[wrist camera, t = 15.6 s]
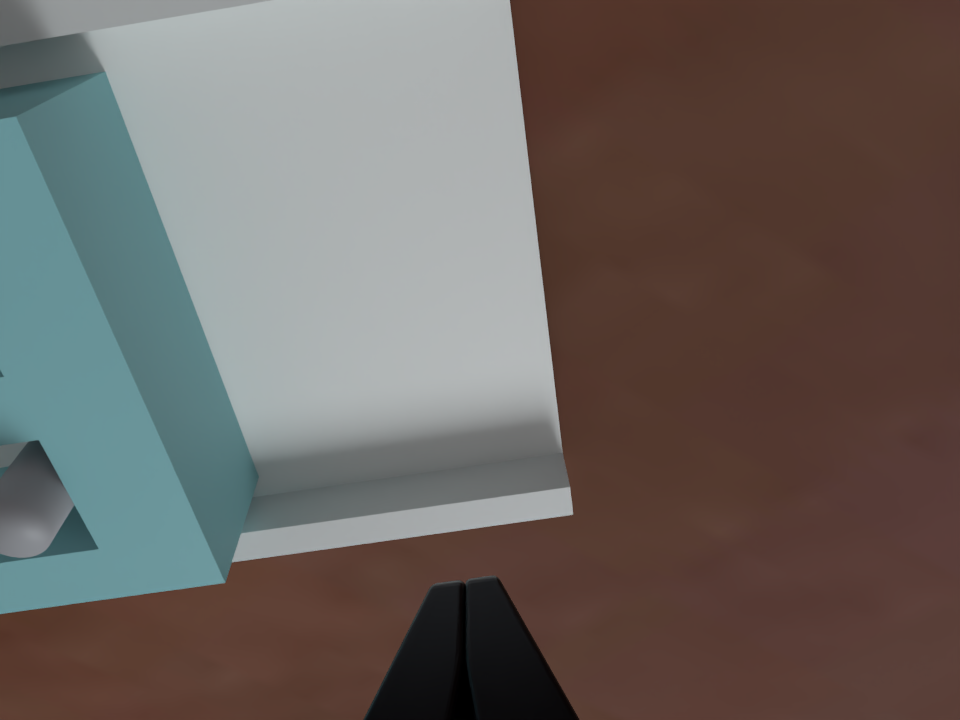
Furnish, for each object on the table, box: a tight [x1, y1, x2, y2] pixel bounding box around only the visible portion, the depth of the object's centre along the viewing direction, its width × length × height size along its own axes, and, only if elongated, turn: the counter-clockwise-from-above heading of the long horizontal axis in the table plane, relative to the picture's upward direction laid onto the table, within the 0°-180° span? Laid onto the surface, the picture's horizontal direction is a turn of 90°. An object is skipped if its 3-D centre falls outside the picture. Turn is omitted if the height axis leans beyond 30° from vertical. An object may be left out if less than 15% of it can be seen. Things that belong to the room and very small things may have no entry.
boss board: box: [0, 0, 573, 562], centre depth 18 cm, size 16×15×6 cm
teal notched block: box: [0, 72, 259, 614], centre depth 18 cm, size 7×11×4 cm, turn 8°
